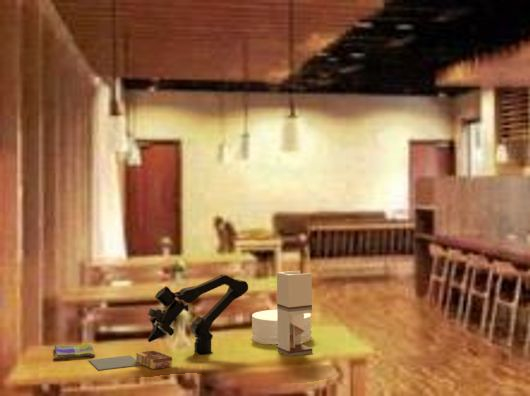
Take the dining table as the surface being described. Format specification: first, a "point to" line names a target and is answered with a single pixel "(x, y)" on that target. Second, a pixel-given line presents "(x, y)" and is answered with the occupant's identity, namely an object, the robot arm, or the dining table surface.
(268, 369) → the dining table surface
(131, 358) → the mat
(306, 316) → the plate stack
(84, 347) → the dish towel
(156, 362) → the candy box
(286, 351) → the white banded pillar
